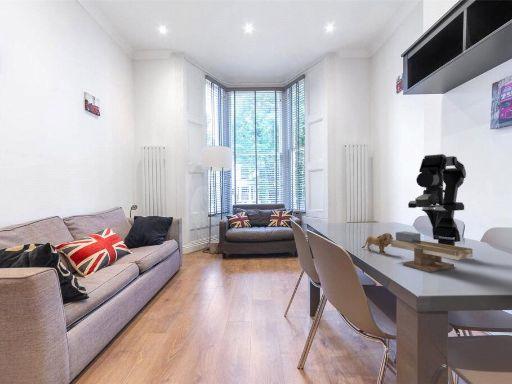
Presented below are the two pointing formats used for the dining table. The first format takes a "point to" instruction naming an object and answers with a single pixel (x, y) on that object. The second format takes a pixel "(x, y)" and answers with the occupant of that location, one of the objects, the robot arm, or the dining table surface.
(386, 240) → the lion figurine
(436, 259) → the stand
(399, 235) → the block
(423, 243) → the beam
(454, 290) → the dining table surface
